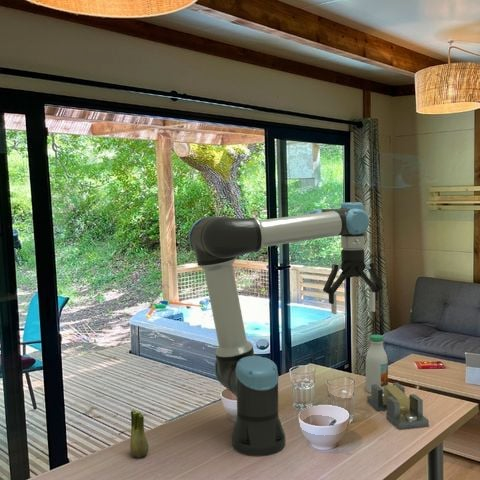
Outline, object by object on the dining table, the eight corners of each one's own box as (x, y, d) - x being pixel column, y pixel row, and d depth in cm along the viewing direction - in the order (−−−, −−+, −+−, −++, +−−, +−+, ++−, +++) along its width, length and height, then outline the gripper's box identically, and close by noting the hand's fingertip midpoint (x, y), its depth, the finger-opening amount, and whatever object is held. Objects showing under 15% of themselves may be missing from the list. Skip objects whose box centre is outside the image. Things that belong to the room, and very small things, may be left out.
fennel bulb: (130, 451, 142) (128, 408, 141) (148, 448, 143) (146, 406, 142) (130, 461, 136) (129, 417, 135) (149, 458, 137) (147, 414, 137)
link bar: (409, 414, 157) (409, 398, 156) (396, 415, 157) (396, 399, 156) (395, 399, 169) (395, 385, 168) (383, 400, 168) (383, 385, 168)
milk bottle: (373, 396, 178) (373, 339, 177) (361, 388, 185) (361, 334, 184) (392, 393, 180) (392, 337, 179) (379, 385, 188) (379, 332, 186)
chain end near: (398, 429, 151) (398, 406, 150) (386, 418, 159) (386, 396, 158) (428, 426, 153) (428, 403, 152) (414, 415, 161) (414, 394, 160)
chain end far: (393, 399, 174) (393, 379, 174) (405, 408, 166) (405, 387, 166) (367, 402, 173) (366, 381, 172) (377, 411, 165) (377, 390, 164)
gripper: (320, 251, 164) (321, 316, 165) (393, 248, 168) (393, 312, 169) (313, 249, 171) (314, 312, 172) (382, 246, 175) (383, 307, 177)
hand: (353, 312), depth 171 cm, fingers open, 13 cm apart
